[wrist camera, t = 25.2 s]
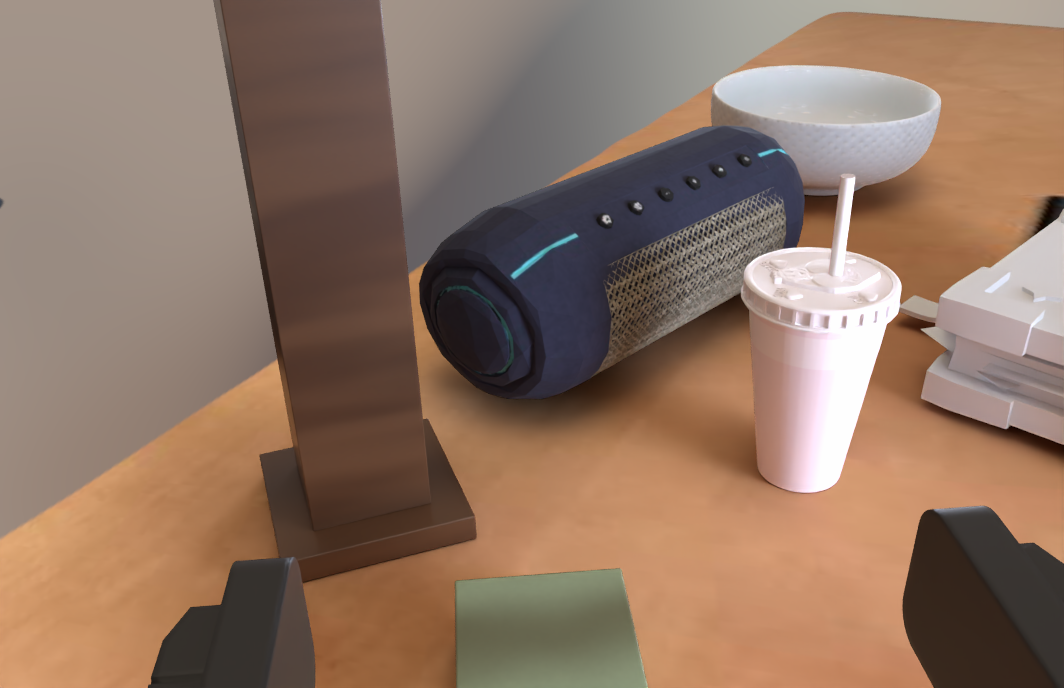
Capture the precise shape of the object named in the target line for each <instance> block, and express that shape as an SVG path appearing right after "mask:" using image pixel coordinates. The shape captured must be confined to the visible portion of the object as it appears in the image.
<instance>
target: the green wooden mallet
mask: <svg viewBox="0 0 1064 688" xmlns="http://www.w3.org/2000/svg"><path fill="white" fill-rule="evenodd" d="M455 641H456V688H648V685H647V680H646V676H645V672H644V667H643V663H642V658H641V654H640V649H639V645H638V641H637V636H636V632H635V627H634V623H633V619H632V614H631V610H630V605H629V601H628V596H627V592H626V588H625V583H624V579H623V574H622V570H621V569H620V568H617V569H604V570H591V571H577V572H564V573H551V574H538V575H524V576H511V577H498V578H485V579H471V580H458V581H455Z"/></svg>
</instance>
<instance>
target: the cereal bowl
mask: <svg viewBox="0 0 1064 688" xmlns="http://www.w3.org/2000/svg"><path fill="white" fill-rule="evenodd" d="M940 109H941V99H940V97H939V95H938V94H937V93H936V92H935V91H934V90H933V89H931V88H929V87H927V86H925V85H923V84H921V83H919V82H916V81H913V80H909V79H906V78H902V77H898V76H894V75H890V74H885V73H880V72H874V71H868V70H861V69H853V68H844V67H831V66H810V65H790V66H772V67H762V68H755V69H750V70H745V71H741V72H737V73H734V74H731V75H728V76H726V77H724V78H722V79H721V80H719V81H718V82H717V83H716V84H715V86H714V88H713V91H712V99H711V119H712V120H711V122H712V126H724V125H725V126H742V127H749V128H752V129H755V130H757V131H759V132H761V133H763V134H765V135H767V136H770V137H772V138H774V139H775V140H776V141H777V142H778V143H779V144H780V146H781V147H782V148H783V149H784V150H785V151H786V153H787V154H788V155H789V156H790V157H791V159H792V160H793V161H794V163H795V164H796V167H797V169H798V172H799V174H800V177H801V180H802V182H803V190H804V195H815V196H829V195H838V194H839V186H840V178H841V175H842V174H853V175H855V184H854V191H856V190H858V189H860V188H862V187H863V186H866V185H872V184H874V183H880V182H882V181H886V180H888V179H891V178H894V177H896V176H898V175H900V174H902V173H903V172H906V171H907V170H908V169H909V168H911V167H912V166H914V165H915V163H916V162H918V161H919V160H920V158H921V157H922V156H923V155H924V154H925V152H926V150H927V149H928V147H929V145H930V143H931V141H932V138H933V136H934V133H935V131H936V127H937V123H938V119H939V114H940ZM854 191H853V192H854Z"/></svg>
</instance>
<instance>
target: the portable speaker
mask: <svg viewBox="0 0 1064 688" xmlns="http://www.w3.org/2000/svg"><path fill="white" fill-rule="evenodd" d="M804 204H805V200H804V190H803V182H802V180H801V177H800V174H799V172H798V169H797V167H796V164H795V163H794V161H793V160H792V159H791V157H790V156H789V155H788V154H787V153H786V151H785V150H784V149H783V148H782V147H781V146H780V144H779V143H778V142H777V141H776V140H775V139H774V138H772V137H770V136H767V135H765V134H763V133H761V132H759V131H757V130H755V129H752V128H749V127H742V126H725V125H724V126H712V127H703V128H700V129H697V130H695V131H692V132H690V133H687V134H684V135H682V136H679V137H676V138H674V139H671V140H669V141H666V142H663V143H661V144H658V145H655V146H653V147H650V148H648V149H645V150H642V151H640V152H637V153H634V154H632V155H629V156H627V157H624V158H621V159H619V160H616V161H613V162H611V163H608V164H606V165H603V166H600V167H598V168H595V169H593V170H590V171H587V172H585V173H582V174H579V175H577V176H574V177H572V178H569V179H566V180H564V181H561V182H558V183H556V184H553V185H551V186H548V187H545V188H543V189H540V190H538V191H535V192H532V193H530V194H527V195H524V196H522V197H519V198H517V199H514V200H511V201H509V202H506V203H503V204H501V205H498V206H496V207H493V208H490V209H488V210H485V211H483V212H481V213H480V214H479V215H477V216H476V217H475V218H473V219H472V220H471V221H469V222H468V223H466V224H465V225H464V226H462V227H461V228H460V229H458V230H457V231H456V232H454V233H453V234H452V235H450V236H449V237H448V238H447V239H446V240H444V241H443V242H442V243H441V244H440V246H439V247H438V248H437V250H436V251H435V253H434V254H433V255H432V257H431V258H430V260H429V261H428V262H427V264H426V265H425V267H424V269H423V273H422V276H421V279H420V283H419V291H420V305H421V308H422V312H423V315H424V318H425V322H426V325H427V329H428V330H429V332H430V334H431V336H432V338H433V339H434V341H435V343H436V345H437V347H438V348H439V350H440V352H441V354H442V355H443V356H444V357H445V358H446V359H447V360H448V361H449V362H450V363H451V364H452V365H453V366H454V368H455V369H456V370H457V371H458V372H459V373H460V374H461V375H463V376H464V377H465V378H466V379H467V380H468V381H470V382H471V383H472V384H473V385H474V386H476V387H477V388H479V389H481V390H483V391H485V392H487V393H489V394H492V395H496V396H500V397H503V398H507V399H544V398H547V397H551V396H554V395H557V394H561V393H563V392H565V391H567V390H569V389H571V388H573V387H575V386H577V385H579V384H581V383H583V382H585V381H587V380H589V379H590V378H591V377H592V376H594V375H596V374H598V373H600V372H601V371H603V370H605V369H607V368H609V367H610V366H612V365H614V364H615V363H617V362H619V361H621V360H622V359H624V358H626V357H628V356H629V355H631V354H633V353H635V352H637V351H638V350H640V349H642V348H644V347H645V346H647V345H649V344H651V343H652V342H654V341H656V340H658V339H660V338H661V337H663V336H665V335H666V334H668V333H670V332H672V331H674V330H675V329H677V328H679V327H681V326H682V325H684V324H686V323H688V322H689V321H691V320H693V319H695V318H697V317H698V316H700V315H702V314H703V313H705V312H707V311H709V310H711V309H712V308H714V307H716V306H718V305H719V304H721V303H723V302H725V301H727V300H728V299H730V298H732V297H733V296H735V295H737V294H739V293H741V287H742V286H743V280H744V271H745V268H746V267H747V265H748V264H749V263H750V262H752V261H753V260H755V259H756V258H758V257H760V256H762V255H764V254H767V253H770V252H774V251H777V250H782V249H789V248H796V246H797V244H798V242H799V238H800V234H801V229H802V225H803V216H804Z"/></svg>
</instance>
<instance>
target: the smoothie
mask: <svg viewBox="0 0 1064 688" xmlns="http://www.w3.org/2000/svg"><path fill="white" fill-rule="evenodd" d="M854 184H855V175H853V174H842V175H841V178H840V186H839V194H838V202H837V210H836V217H835V225H834V233H833V241H832V249H830V248H819V247H801V248H789V249H782V250H777V251H774V252H770V253H767V254H764V255H762V256H760V257H758V258H756V259H755V260H753V261H752V262H750V263H749V264H748V265H747V267H746V268H745V271H744V280H743V286H742V287H741V299H742V300H743V302H744V303H745V305H746V306H747V308H748V309H749V320H750V338H751V357H752V376H753V395H754V414H755V432H756V451H757V467H758V470H759V472H760V474H761V475H762V476H763V477H764V478H765V479H766V480H767V481H768V482H770V483H771V484H773V485H775V486H777V487H779V488H782V489H785V490H789V491H794V492H802V493H810V492H818V491H822V490H825V489H828V488H830V487H831V486H833V485H834V484H835V483H836V482H837V481H838V479H839V477H840V473H841V470H842V467H843V464H844V461H845V457H846V454H847V451H848V448H849V444H850V441H851V438H852V435H853V432H854V428H855V425H856V422H857V419H858V415H859V412H860V409H861V406H862V403H863V399H864V396H865V393H866V390H867V387H868V383H869V380H870V377H871V374H872V370H873V367H874V364H875V361H876V358H877V354H878V352H879V349H880V346H881V342H882V339H883V335H884V332H885V328H886V325H887V323H889V322H890V321H891V320H892V319H893V318H894V317H895V316H896V315H897V314H898V311H899V307H900V302H899V300H900V294H901V288H902V286H901V282H900V280H899V278H898V277H897V275H896V274H895V273H894V272H893V271H892V270H891V269H889V268H888V267H886V266H885V265H884V264H882V263H880V262H878V261H876V260H874V259H871V258H868V257H866V256H863V255H860V254H856V253H852V252H848V251H846V244H847V236H848V229H849V221H850V214H851V206H852V199H853V191H854Z"/></svg>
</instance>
